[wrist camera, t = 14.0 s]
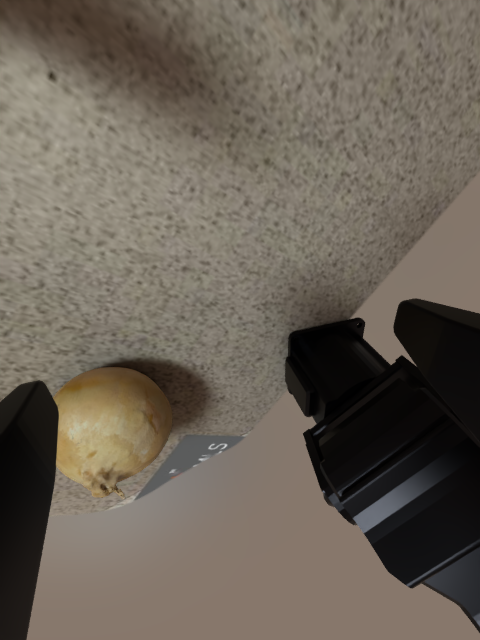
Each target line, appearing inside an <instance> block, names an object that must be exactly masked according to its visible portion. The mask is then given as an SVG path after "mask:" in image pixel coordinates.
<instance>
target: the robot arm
mask: <svg viewBox="0 0 480 640" xmlns="http://www.w3.org/2000/svg"><path fill="white" fill-rule="evenodd" d="M358 323H359V324H358ZM357 324H358V325H357ZM364 327H365V322H364V320H363V319H361V318H354V319H349V320H345V321H340V322H336V323H331V324H327V325H322V326H318V327H313V328H309V329H304V330H300V331H295V332H292V333H291V334H290V335H289V338H288V357H287V358H286V363H285V382H286V384H287V385H288V391H289V393H290V394H293V396H294V398H295V399H296V401H297V403H298V405H299V406H300V408H301V410H302V412H303V413H304V415H305V416H306V417H311V416H312V417H313V418H314V420H315V422H316V423H317V424H316V425H315V426H314V427H313V428H311V429H308V430H307V431H306V432H304V433H303V435H304V438H305V441H306V447H307V450H308V452H309V456H310V458H311V461H312V465H313V467H314V471H315V473H316V476H317V479H318V482H319V485H320V488H321V490H322V492H323V495H324V499H325V501H326V502H327V504H328V505H330V506H333V507H335V508H336V509H337V510H338V512H339V513H340V514H341V515H342V516H343V517H344V518H345V519H346V520H347V521H348V522H350V523H351V524H353V525H358V526H359V527H360V529H361V530H362V532H363V533H364V534H365V536H366V537H367V539H368V541H369V542H370V544H371V545H372V547H373V548H374V550H375V552H376V553H377V555H378V556H379V558H380V560H381V561H382V563H383V565H384V566H385V568H386V569H387V570H388V572H389V573H390V574H392V575H393V576H394V577H396V578H397V579H398V580H400V581H401V582H402V583H404V584H405V585H406V586H408V587H410V588H414V587H416V586H418V585H419V584H421V583H422V584H424V585H426V586H427V587H429V588H430V589H432V590H434V591H436V592H437V593H439V594H441V595H443V596H444V597H446V598H447V599H449V600H451V601H453V602H454V603H456V604H457V605H458V606H460V608H461V609H462V610H463V611H464V613H465V614H466V615H467V616H468V618H469V619H470V620H471V622H472V623H473V624H474V626H475V627H476V628H477V630H478V631H479V633H480V314H479V313H475V312H471V311H467V310H462V309H458V308H454V307H450V306H446V305H442V304H437V303H433V302H429V301H425V300H421V299H409V300H405V301H402V302H401V303H400V304H399V306H398V309H397V313H396V318H395V322H394V333H395V335H396V337H397V338H398V340H399V341H400V342H401V344H402V345H403V347H404V348H405V350H406V351H407V353H408V354H409V355H410V357H411V358H412V360H413V361H414V363H415V364H416V366H417V367H416V366H415V365H414V364H412V363H411V362H410V361H409V360H407V359H406V358H405V357H404V356H400V357H399V358H398V359H396V362H395V363H393V364H392V365H390V364H389V363H388V362H387V361H386V360H385V359H384V358H383V357H382V356H381V355H380V354H379V353H378V352H376V350H375V349H373V347H371V346H370V345H369V344H368V343H367V342H366V341H365V340H364V339H363V333H364ZM295 337H297V338H296V339H294V338H295ZM58 424H59V411H58V407H57V404H56V403H55V401H54V399H53V397H52V395H51V393H50V392H49V390H48V388H47V386H46V385H45V383H44V382H43V381H40V380H37V381H33V382H28V383H24V384H21V385H19V386H18V387H17V388H15V389H14V390H13V391H12V392H11V393H10V394H9V395H8V396H6V397H5V398H4V399H3V400H2V401H1V402H0V640H26V639H27V632H28V628H29V622H30V617H31V611H32V605H33V600H34V594H35V589H36V583H37V577H38V572H39V567H40V561H41V556H42V550H43V544H44V539H45V534H46V528H47V523H48V517H49V512H50V506H51V501H52V495H53V489H54V483H55V473H56V458H57V441H58Z"/></svg>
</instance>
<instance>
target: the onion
mask: <svg viewBox="0 0 480 640" xmlns="http://www.w3.org/2000/svg"><path fill="white" fill-rule="evenodd" d="M53 399H54V401H55V403H56V404H57V407H58V411H59V424H58V441H57V458H56V466H57V468H58V469H59V470H60V471H61V472H62V473H63V474H65V475H66V476H67V477H68V478H70V479H72V480H74V481H75V482H78V483H80V484H83V486H84V487H85V488H87V489H88V490H90V491H91V492H92V496H94V497H101V498H103V497H105V496H108V495H109V494H110V493H112V492H115V493H117V494H118V496H121V498H122V499H125V497H124V494H123V492H122V491H120V490H121V489H119V490H118V488H117V486H116V483H117V482H119V481H122V480H124V479H126V478H128V477H131V476H133V475H135V474H136V473H138V472H140V471H142V470H143V469H144V468H146V467H147V466H148V465H149V464H151V463H152V462H153V461H154V460H155V459H156V458H157V456H158V455H159V453H160V452H161V451H162V449H163V447H164V446H165V444H166V442H167V440H168V437H169V434H170V431H171V427H172V410H171V406H170V404H169V402H168V399H167V398H166V396H165V395H164V393H163V392H162V390H161V389H160V388H159V387H158V386H157V384H156V383H155V382H154V381H152V380H151V379H150V378H149V377H148V376H146V375H144V374H142V373H140V372H138V371H135V370H133V369H128V368H121V367H107V368H98V369H93V370H90V371H87V372H84V373H82V374H80V375H78V376H76V377H74V378H73V379H71V380H70V381H68V382H67V383H66V384H65V385H64V386H62V388H61V389H60V390H59V391H58V392H56V395H55V396H54V397H53Z"/></svg>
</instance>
